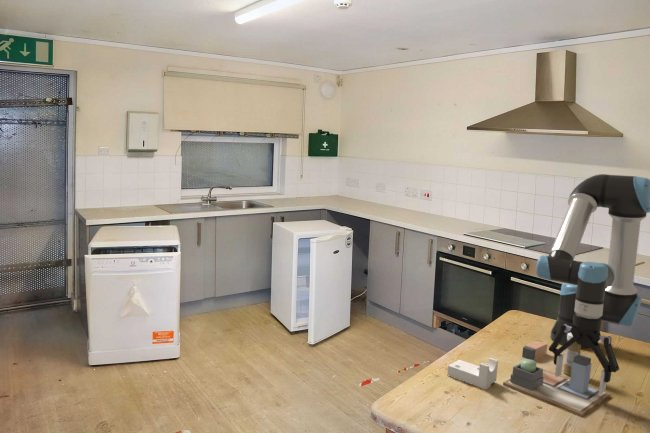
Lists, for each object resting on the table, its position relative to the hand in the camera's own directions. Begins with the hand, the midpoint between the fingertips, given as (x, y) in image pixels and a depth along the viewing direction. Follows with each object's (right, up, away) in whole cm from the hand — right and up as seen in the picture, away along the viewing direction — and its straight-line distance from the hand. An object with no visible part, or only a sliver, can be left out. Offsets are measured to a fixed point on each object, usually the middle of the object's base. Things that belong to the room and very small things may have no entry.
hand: (579, 383), depth 164 cm
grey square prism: (0, -2, 0) cm, 2 cm away
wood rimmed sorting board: (-6, -3, +1) cm, 7 cm away
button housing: (-15, -2, +3) cm, 15 cm away
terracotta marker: (+1, +3, +31) cm, 32 cm away
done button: (-15, +3, +3) cm, 15 cm away
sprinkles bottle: (+4, -1, +14) cm, 15 cm away
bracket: (-31, -1, +7) cm, 31 cm away
